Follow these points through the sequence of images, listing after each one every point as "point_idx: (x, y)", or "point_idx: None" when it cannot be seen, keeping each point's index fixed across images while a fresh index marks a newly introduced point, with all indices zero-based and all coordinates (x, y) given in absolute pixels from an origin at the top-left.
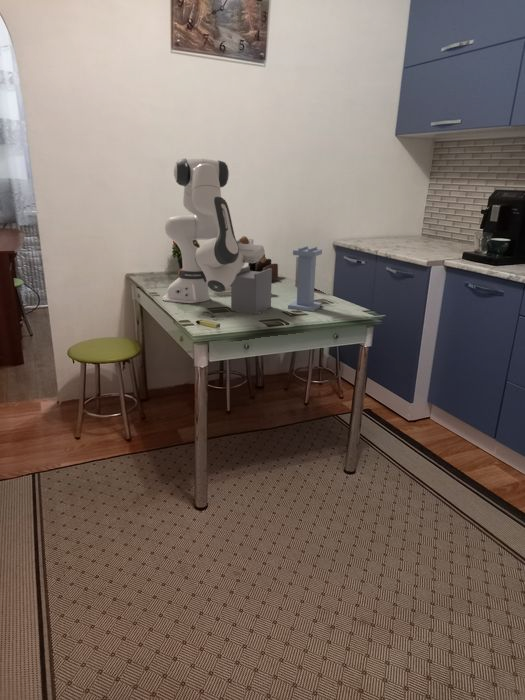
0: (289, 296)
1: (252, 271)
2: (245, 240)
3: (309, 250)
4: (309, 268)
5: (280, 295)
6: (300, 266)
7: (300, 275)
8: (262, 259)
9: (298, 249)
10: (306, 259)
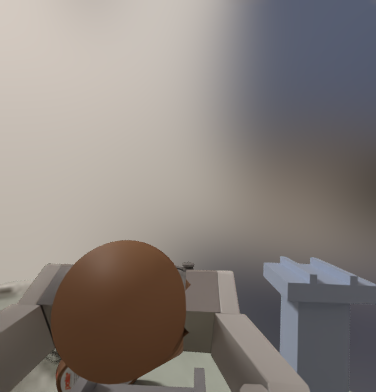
0: (193, 383)
1: (112, 389)
2: (157, 316)
3: (357, 280)
4: (343, 345)
5: (168, 382)
6: (306, 339)
7: (307, 374)
8: (182, 351)
9: (310, 278)
10: (329, 311)
